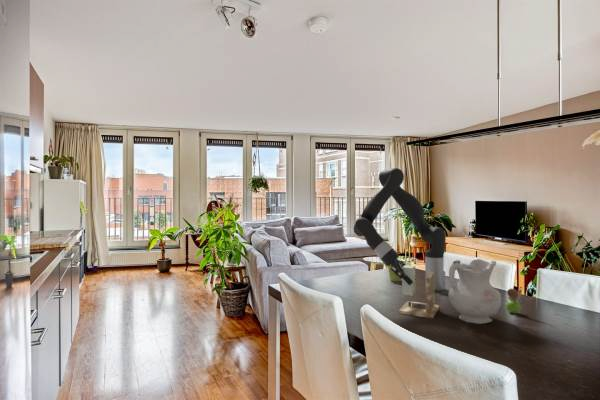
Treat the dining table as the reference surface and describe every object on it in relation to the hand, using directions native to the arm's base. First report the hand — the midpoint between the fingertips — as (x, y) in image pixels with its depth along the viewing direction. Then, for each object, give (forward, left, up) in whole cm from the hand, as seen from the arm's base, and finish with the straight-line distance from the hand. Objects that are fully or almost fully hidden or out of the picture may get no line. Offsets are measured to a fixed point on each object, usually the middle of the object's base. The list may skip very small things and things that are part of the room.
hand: (412, 282), depth 162 cm
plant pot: (-17, -53, -12) cm, 57 cm away
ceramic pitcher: (-17, +17, -12) cm, 27 cm away
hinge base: (-2, +2, -12) cm, 12 cm away
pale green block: (+1, -1, -5) cm, 6 cm away
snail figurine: (-39, +14, -12) cm, 43 cm away
